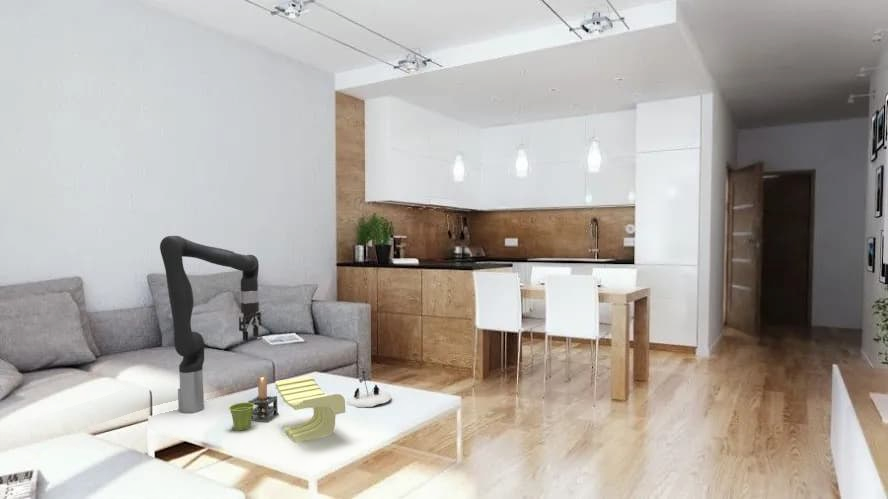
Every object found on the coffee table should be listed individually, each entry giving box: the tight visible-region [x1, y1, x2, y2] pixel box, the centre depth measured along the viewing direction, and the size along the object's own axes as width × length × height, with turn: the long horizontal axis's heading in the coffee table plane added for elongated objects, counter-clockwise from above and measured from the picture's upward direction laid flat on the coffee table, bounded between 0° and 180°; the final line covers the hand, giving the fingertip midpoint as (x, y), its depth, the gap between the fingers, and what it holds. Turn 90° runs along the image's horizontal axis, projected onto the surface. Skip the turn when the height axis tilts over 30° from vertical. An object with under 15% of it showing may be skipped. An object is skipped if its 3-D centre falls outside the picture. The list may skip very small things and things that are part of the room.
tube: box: [257, 375, 268, 417], centre depth 238 cm, size 4×4×16 cm
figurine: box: [346, 366, 392, 408], centre depth 258 cm, size 20×18×16 cm
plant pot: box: [228, 402, 255, 431], centre depth 227 cm, size 9×9×9 cm
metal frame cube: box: [247, 395, 279, 424], centre depth 238 cm, size 9×9×8 cm
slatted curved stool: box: [275, 375, 346, 443], centre depth 221 cm, size 30×16×18 cm, turn 34°
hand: (250, 338), depth 251 cm, fingers open, 8 cm apart
